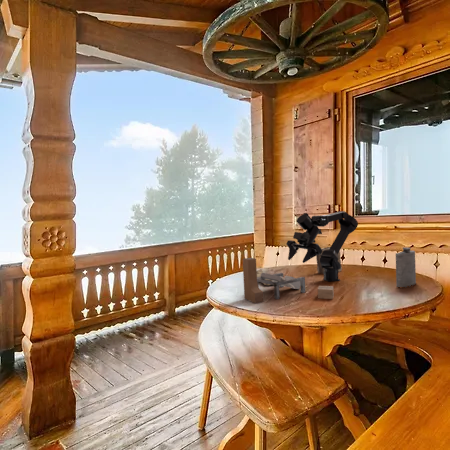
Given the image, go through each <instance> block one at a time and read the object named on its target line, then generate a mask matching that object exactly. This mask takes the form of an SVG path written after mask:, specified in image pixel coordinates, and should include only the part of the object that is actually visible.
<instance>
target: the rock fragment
mask: <svg viewBox="0 0 450 450" xmlns="http://www.w3.org/2000/svg"><path fill="white" fill-rule="evenodd" d="M262 273H264V271H263V269H258V270H257V277H261V274H262ZM265 280H269V279H265ZM269 281H272V280H269ZM262 284H263V285H265V286H271V285H270V284H266V283H262Z"/></svg>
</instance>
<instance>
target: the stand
mask: <svg viewBox="0 0 450 450" xmlns="http://www.w3.org/2000/svg"><path fill="white" fill-rule="evenodd" d="M334 290H335V289H334V285H333V286H332V285H330V286H329V285H318V287H317V299H325V300H333V299H334V295H335V293H334V292H335V291H334Z"/></svg>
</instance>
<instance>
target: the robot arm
mask: <svg viewBox="0 0 450 450" xmlns="http://www.w3.org/2000/svg"><path fill="white" fill-rule="evenodd" d="M335 221H337V222H338V224H339V228H340V229H339V232H338V234H337V236H336V237H335V239H334V240H333V242H332V244H331V246H329V247H330V249H329V250H324V251H323V253H322V249H323V248H321V246H320V245H319V244H318V243H316V242H317V241H316V238H317V236H318V235H322V233H323V231H322V229H321V228H319V227H325V226H326V227H327V225H329V223H331V222H335ZM296 223H297V224H298V226H300V228H302V230H304V231H303V232H298V231H295V232H294V233H293V237H292V239H295V240H290V239H289V240H287V242H286V243H285V245H286V246H287V248H288V257H287V259H288V260H289V261H291V260H292V259H293V257H294V256H295V255H296V254H297V253H298V251H299V249H302V250H303V249H304V250H307V252H306V253H305V255H304V257H303V259H302V260H301V261H302V263H303V264H305V263H307V262H308V261H310V260H311V259H314V258H315V257H316V256H318V255H320V256H321V257H320V263H321V267H322V268H324V274H323V278H322V280H324V281H327V282H339V281H341V279H340V278H339V272H338V270H339V269H340V268H341V266H342V263H341V264H340V263H339V262H338V253H339V251H340V252H341V249H342V247H343V245H344V244H345V242H346V240H347V238H348V237H349V235H350V234H352V233H353V232H354V231H356V229H357V228H358V226H359V221H358V220H357V218H355V217H354V216H352V215H350V214H349V213H348V212H347V211H345V210H340V211H336V212H334V213H329V214H325V215H312V216H311V217H310V215H309V213H308V212H303V214H301V215H300V216H299V217H297V219H296ZM321 253H322V255H321Z"/></svg>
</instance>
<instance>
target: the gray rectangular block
mask: <svg viewBox="0 0 450 450" xmlns="http://www.w3.org/2000/svg"><path fill="white" fill-rule="evenodd" d="M283 278H284V279H286V280H290V279H294V278H295V277H293V276H290V275H284V277H283ZM290 284H292V285H293V286H294V287H295V290H301V287H300V281H297V282H293V283H290Z"/></svg>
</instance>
